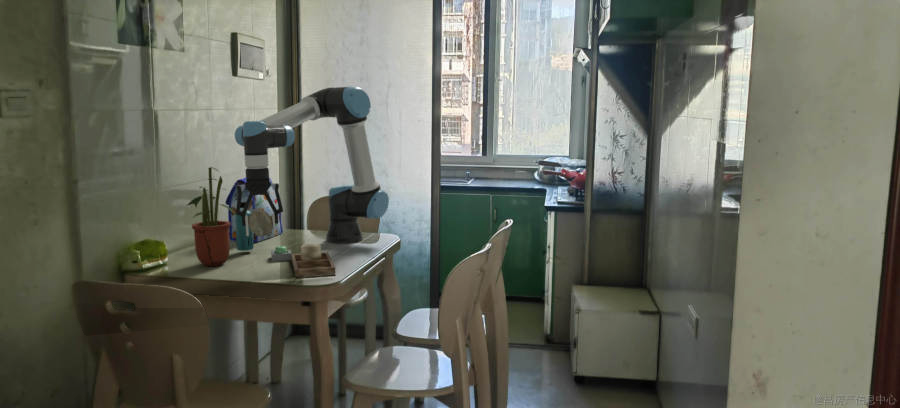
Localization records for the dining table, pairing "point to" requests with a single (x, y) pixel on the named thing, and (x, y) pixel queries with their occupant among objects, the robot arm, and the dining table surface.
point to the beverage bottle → (243, 232)
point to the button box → (281, 256)
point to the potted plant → (211, 229)
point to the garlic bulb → (260, 223)
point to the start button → (281, 249)
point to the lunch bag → (251, 209)
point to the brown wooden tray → (313, 266)
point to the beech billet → (310, 252)
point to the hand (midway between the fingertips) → (261, 234)
